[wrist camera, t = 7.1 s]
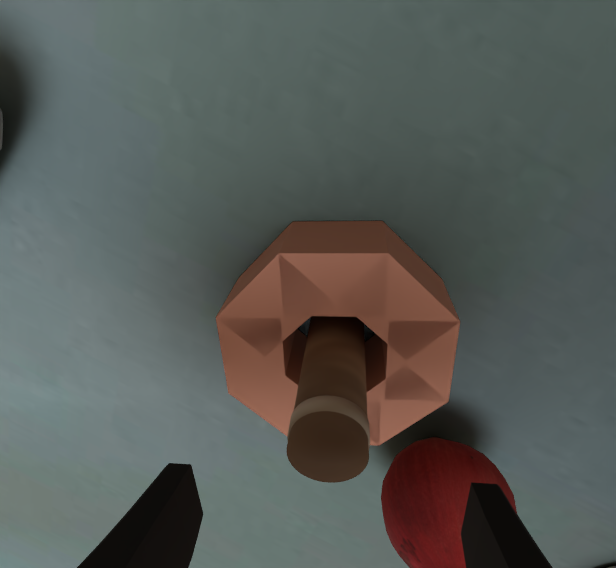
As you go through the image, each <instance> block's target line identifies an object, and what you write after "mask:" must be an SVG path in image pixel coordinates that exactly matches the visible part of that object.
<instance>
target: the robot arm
mask: <svg viewBox="0 0 616 568" xmlns="http://www.w3.org/2000/svg"><path fill="white" fill-rule="evenodd" d="M202 517H203V511H202V507H201V503H200V499H199V495H198V491H197V486H196V482H195V478H194V474H193V470H192V466H191V465H190V464H174V463H169V464H168V465H167V466H166V467H165V468H164V469H163V470H162V472H161V473H160V474H159V475H158V476H157V478H156V479H155V480H154V481H153V482H152V484H151V485H150V486H149V487H148V489H147V490H146V491H145V492H144V493H143V494H142V496H141V497H140V498H139V499H138V500H137V502H136V503H135V504H134V505H133V506H132V507H131V509H130V510H129V511H128V512H127V513H126V514H125V516H124V517H123V518H122V519H121V520H120V521H119V522H118V523H117V525H116V526H115V527H114V528H113V529H112V530H111V531H110V532H109V534H108V535H107V536H106V537H105V538H104V539H103V540H102V542H101V543H100V544H99V545H98V546H97V547H96V548H95V549H94V550H93V551H92V552H91V553H90V554H89V556H88V557H87V558H86V559H85V560H84V561H83V562H82V563H81V564H80V565H79V566H78V567H77V568H188V567H189V564H190V561H191V558H192V555H193V552H194V548H195V544H196V541H197V537H198V533H199V529H200V525H201V521H202ZM461 539H462V545H463V552H464V558H465V564H466V568H552V566H551V565H550V563H549V562H548V561H547V559H546V558H545V556H544V555H543V553H542V552H541V550H540V549H539V547H538V546H537V544H536V543H535V541H534V540H533V538H532V537H531V535H530V534H529V532H528V531H527V529H526V528H525V526H524V524H523V523H522V521H521V520H520V518H519V517H518V515H517V513H516V512H515V510H514V509H513V507H512V505H511V504H510V502H509V500H508V499H507V497H506V495H505V494H504V492H503V490H502V489H501V487H500V486H499V485H498V484H489V483H473V482H471V485H470V490H469V495H468V500H467V505H466V510H465V515H464V520H463V525H462V530H461Z"/></svg>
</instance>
